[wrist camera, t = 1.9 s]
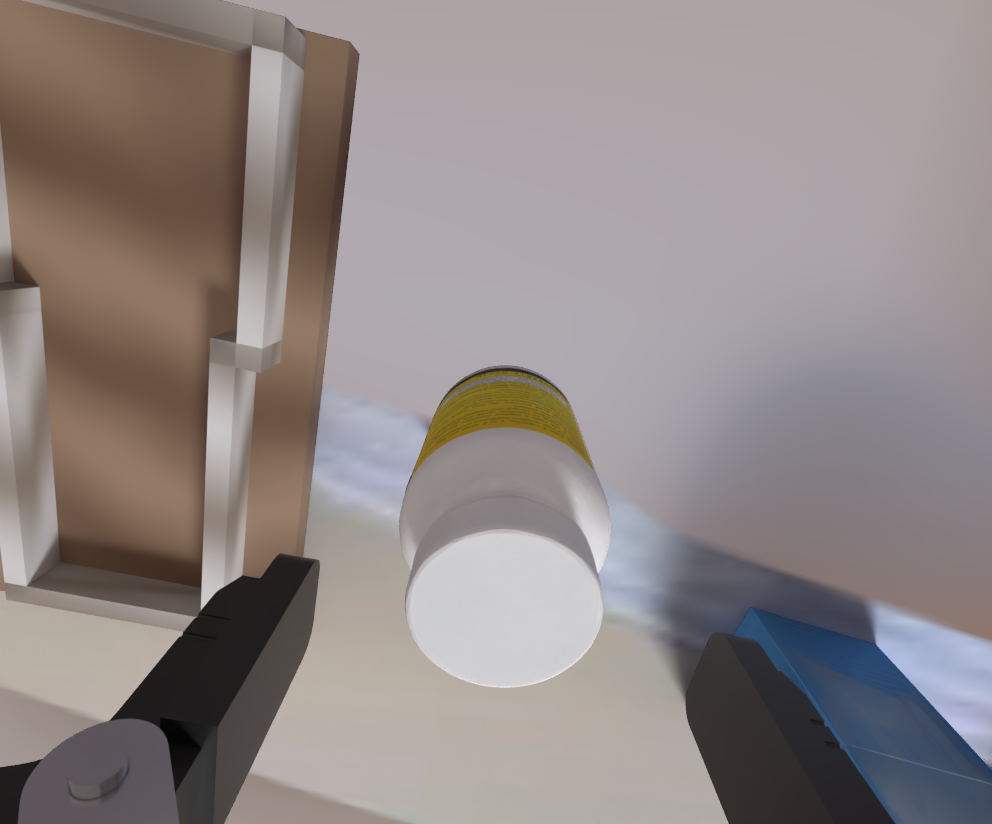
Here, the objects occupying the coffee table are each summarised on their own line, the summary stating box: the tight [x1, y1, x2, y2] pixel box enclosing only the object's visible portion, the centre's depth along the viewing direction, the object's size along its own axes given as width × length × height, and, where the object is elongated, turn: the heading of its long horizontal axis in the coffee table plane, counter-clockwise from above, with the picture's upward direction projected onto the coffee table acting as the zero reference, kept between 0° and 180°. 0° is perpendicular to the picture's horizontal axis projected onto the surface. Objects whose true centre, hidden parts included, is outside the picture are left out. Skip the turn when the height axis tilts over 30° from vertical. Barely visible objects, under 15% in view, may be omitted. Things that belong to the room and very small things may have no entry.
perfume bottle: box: [733, 607, 992, 824], centre depth 17 cm, size 6×6×12 cm
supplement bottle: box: [399, 366, 611, 688], centre depth 14 cm, size 5×5×10 cm
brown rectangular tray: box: [0, 0, 359, 631], centre depth 17 cm, size 22×12×2 cm, turn 167°
